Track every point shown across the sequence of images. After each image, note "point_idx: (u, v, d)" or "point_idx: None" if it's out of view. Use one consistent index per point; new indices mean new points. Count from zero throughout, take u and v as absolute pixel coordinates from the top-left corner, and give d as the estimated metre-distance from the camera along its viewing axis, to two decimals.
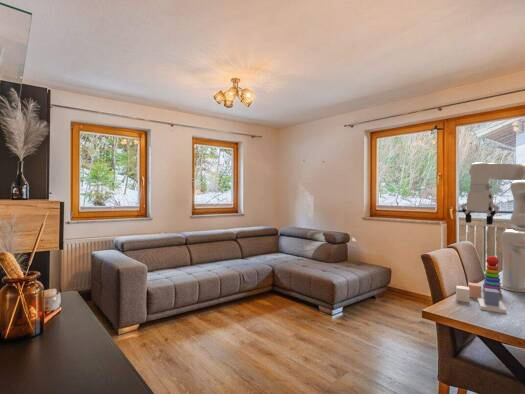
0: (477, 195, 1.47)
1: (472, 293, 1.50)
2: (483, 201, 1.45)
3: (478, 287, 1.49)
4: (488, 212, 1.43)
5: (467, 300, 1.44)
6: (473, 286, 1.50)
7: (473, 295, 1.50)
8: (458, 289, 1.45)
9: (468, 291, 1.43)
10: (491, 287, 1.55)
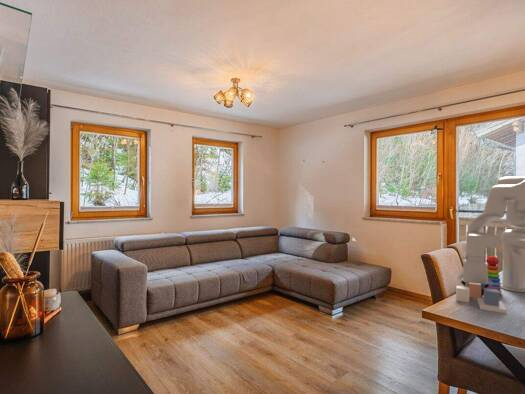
0: None
1: (472, 293, 1.50)
2: None
3: (478, 287, 1.49)
4: (465, 282, 1.55)
5: (467, 300, 1.44)
6: (473, 286, 1.50)
7: (473, 295, 1.50)
8: (458, 289, 1.45)
9: (468, 291, 1.43)
10: (491, 287, 1.55)
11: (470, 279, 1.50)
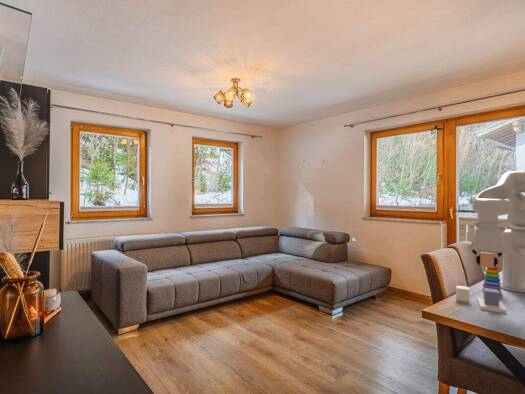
0: None
1: (483, 262, 1.40)
2: None
3: (490, 255, 1.38)
4: (477, 251, 1.44)
5: (467, 300, 1.44)
6: (485, 254, 1.39)
7: (485, 264, 1.39)
8: (458, 289, 1.45)
9: (468, 291, 1.43)
10: (491, 287, 1.55)
11: (482, 247, 1.40)
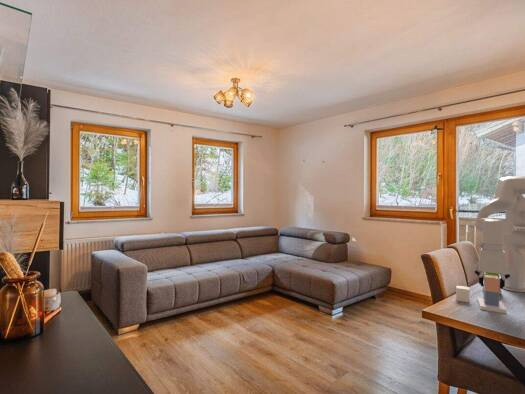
0: None
1: (489, 286, 1.36)
2: None
3: (496, 280, 1.35)
4: (480, 272, 1.41)
5: (467, 300, 1.44)
6: (490, 279, 1.36)
7: (490, 289, 1.36)
8: (458, 289, 1.45)
9: (468, 291, 1.43)
10: None
11: (487, 269, 1.36)
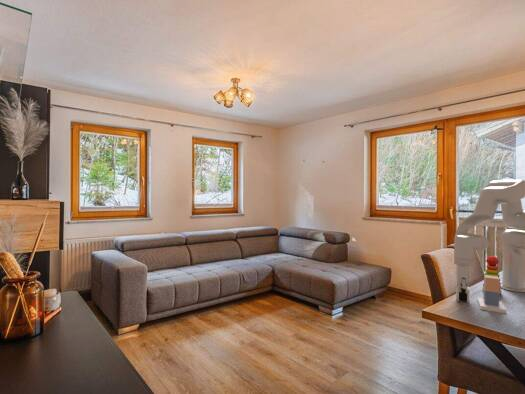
0: None
1: (489, 286, 1.36)
2: None
3: (496, 280, 1.35)
4: (465, 285, 1.49)
5: (467, 300, 1.44)
6: (490, 279, 1.36)
7: (490, 289, 1.36)
8: (458, 289, 1.45)
9: (468, 291, 1.43)
10: None
11: None
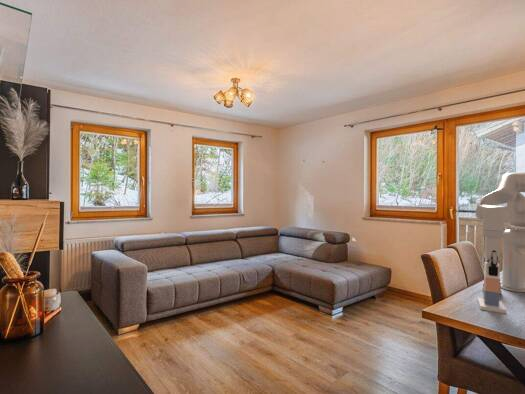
0: None
1: (489, 286, 1.36)
2: None
3: (496, 280, 1.35)
4: None
5: (497, 276, 1.35)
6: (490, 279, 1.36)
7: (490, 289, 1.36)
8: (487, 265, 1.36)
9: (498, 267, 1.34)
10: None
11: (483, 254, 1.40)
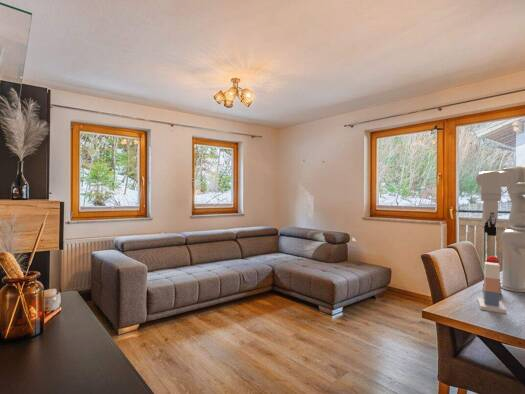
0: None
1: (489, 286, 1.36)
2: None
3: (496, 280, 1.35)
4: None
5: (497, 276, 1.35)
6: (490, 279, 1.36)
7: (490, 289, 1.36)
8: (487, 265, 1.36)
9: (498, 267, 1.34)
10: None
11: (482, 218, 1.47)
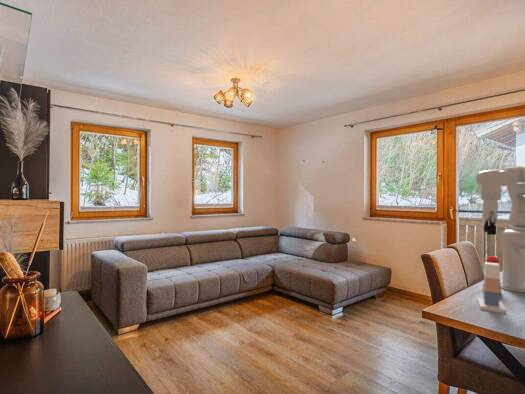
0: None
1: (489, 286, 1.36)
2: None
3: (496, 280, 1.35)
4: None
5: (497, 276, 1.35)
6: (490, 279, 1.36)
7: (490, 289, 1.36)
8: (487, 265, 1.36)
9: (498, 267, 1.34)
10: None
11: (482, 217, 1.47)
